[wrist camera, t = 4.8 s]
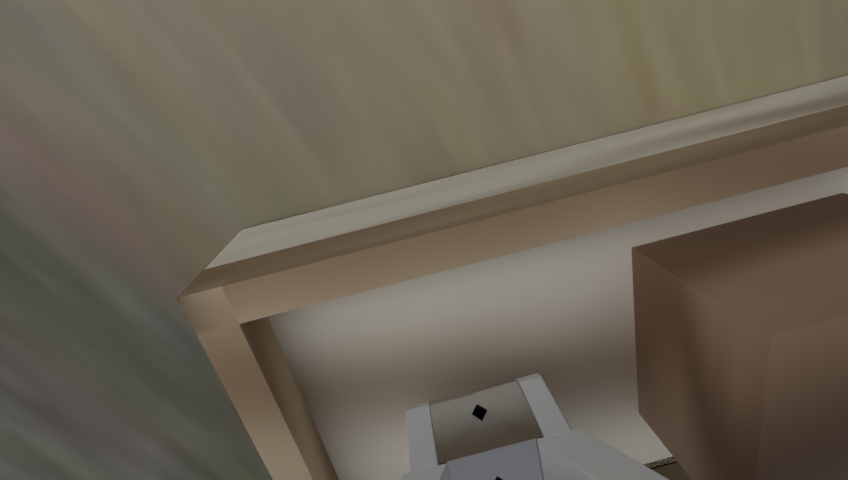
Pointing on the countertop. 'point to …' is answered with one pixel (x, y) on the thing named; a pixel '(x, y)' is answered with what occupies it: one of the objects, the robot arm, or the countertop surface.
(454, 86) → the countertop surface
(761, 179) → the box
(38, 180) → the countertop surface
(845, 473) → the walnut block
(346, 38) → the countertop surface
